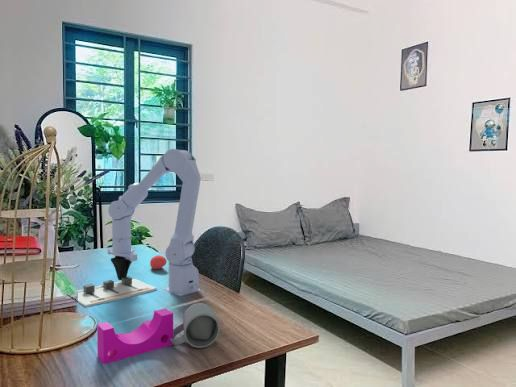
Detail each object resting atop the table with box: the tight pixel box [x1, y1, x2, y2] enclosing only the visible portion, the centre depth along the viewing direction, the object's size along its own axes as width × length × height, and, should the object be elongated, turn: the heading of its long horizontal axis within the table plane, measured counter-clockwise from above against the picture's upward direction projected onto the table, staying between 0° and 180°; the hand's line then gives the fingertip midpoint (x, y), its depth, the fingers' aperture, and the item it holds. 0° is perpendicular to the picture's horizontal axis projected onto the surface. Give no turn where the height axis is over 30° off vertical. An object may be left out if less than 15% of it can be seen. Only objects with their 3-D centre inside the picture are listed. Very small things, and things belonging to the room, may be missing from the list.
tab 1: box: [82, 283, 96, 294], centre depth 116 cm, size 2×2×2 cm
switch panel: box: [76, 278, 158, 308], centre depth 119 cm, size 14×22×2 cm, turn 136°
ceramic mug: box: [170, 302, 220, 349], centre depth 88 cm, size 11×8×8 cm
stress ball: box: [149, 255, 168, 270], centre depth 146 cm, size 5×9×6 cm, turn 27°
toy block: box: [96, 308, 174, 365], centre depth 84 cm, size 15×6×8 cm, turn 129°
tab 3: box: [121, 275, 133, 285], centre depth 124 cm, size 2×2×2 cm
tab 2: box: [102, 279, 115, 289], centre depth 120 cm, size 2×2×2 cm
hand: (122, 279), depth 127 cm, fingers closed
